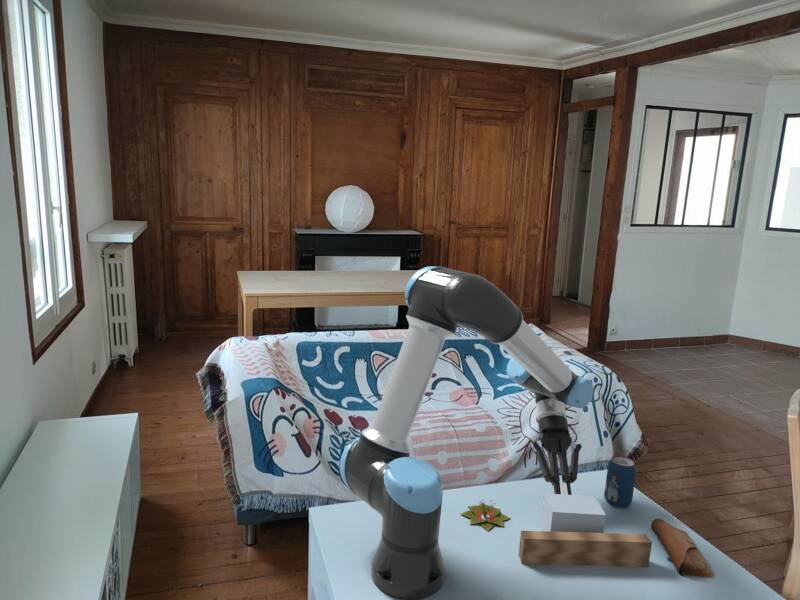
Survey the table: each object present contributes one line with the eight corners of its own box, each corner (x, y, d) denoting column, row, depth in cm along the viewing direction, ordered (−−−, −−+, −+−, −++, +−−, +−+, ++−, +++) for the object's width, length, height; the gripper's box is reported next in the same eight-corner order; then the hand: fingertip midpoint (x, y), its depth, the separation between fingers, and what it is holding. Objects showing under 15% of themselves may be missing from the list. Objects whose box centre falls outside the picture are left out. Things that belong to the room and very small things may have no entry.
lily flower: (450, 515, 142) (452, 498, 141) (482, 500, 150) (483, 484, 149) (488, 539, 133) (489, 521, 132) (519, 521, 141) (521, 504, 140)
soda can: (630, 499, 154) (636, 457, 152) (632, 512, 147) (638, 469, 145) (603, 493, 156) (608, 452, 154) (603, 506, 149) (609, 463, 147)
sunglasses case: (719, 578, 123) (706, 553, 122) (687, 591, 124) (675, 565, 123) (685, 530, 140) (673, 508, 139) (657, 541, 141) (646, 519, 140)
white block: (548, 547, 130) (552, 511, 129) (540, 527, 138) (544, 493, 137) (601, 550, 130) (606, 514, 129) (590, 530, 138) (594, 496, 137)
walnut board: (521, 563, 124) (524, 538, 123) (518, 555, 127) (521, 530, 126) (648, 567, 125) (652, 542, 124) (642, 558, 128) (645, 534, 127)
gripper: (531, 412, 149) (543, 506, 135) (580, 414, 149) (597, 508, 136) (524, 423, 155) (535, 514, 142) (571, 425, 155) (586, 515, 142)
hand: (565, 511), depth 139 cm, fingers closed
